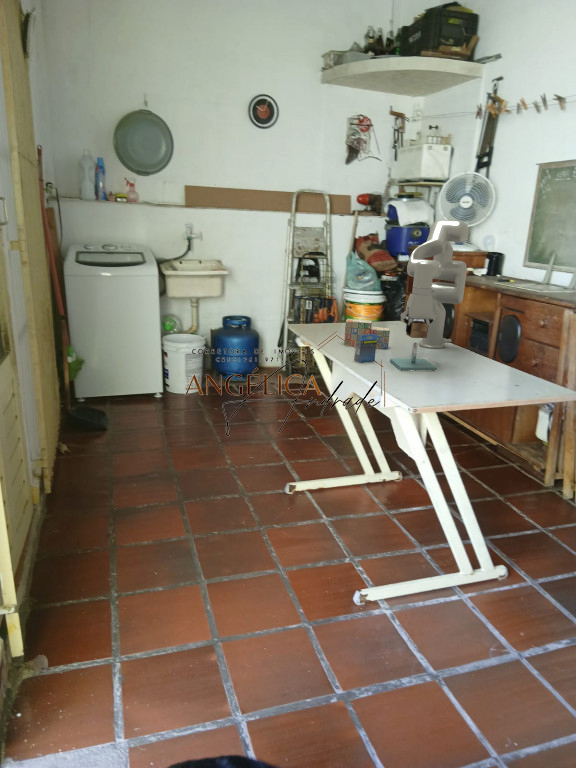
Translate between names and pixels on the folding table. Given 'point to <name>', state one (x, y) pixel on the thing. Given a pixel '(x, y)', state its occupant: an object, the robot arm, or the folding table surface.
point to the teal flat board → (407, 365)
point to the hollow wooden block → (418, 329)
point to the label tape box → (366, 348)
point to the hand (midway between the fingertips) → (416, 333)
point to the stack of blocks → (365, 333)
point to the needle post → (414, 353)
